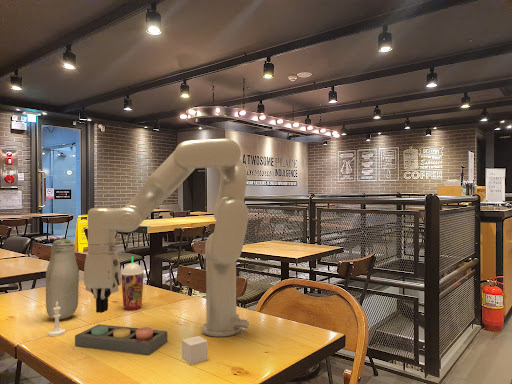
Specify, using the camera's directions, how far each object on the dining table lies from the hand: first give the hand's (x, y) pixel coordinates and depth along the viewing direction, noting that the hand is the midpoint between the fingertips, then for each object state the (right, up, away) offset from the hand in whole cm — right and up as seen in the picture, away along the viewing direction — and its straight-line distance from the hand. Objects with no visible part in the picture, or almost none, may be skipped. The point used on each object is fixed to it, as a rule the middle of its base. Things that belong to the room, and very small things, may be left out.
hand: (102, 311), depth 112 cm
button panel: (+7, -9, -2) cm, 11 cm away
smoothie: (-2, -10, +34) cm, 35 cm away
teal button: (-1, -8, 0) cm, 8 cm away
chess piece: (-17, -9, +7) cm, 20 cm away
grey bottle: (-23, -10, +22) cm, 33 cm away
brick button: (+14, -7, -4) cm, 16 cm away
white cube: (+30, -9, -13) cm, 33 cm away
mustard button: (+7, -8, -2) cm, 10 cm away
